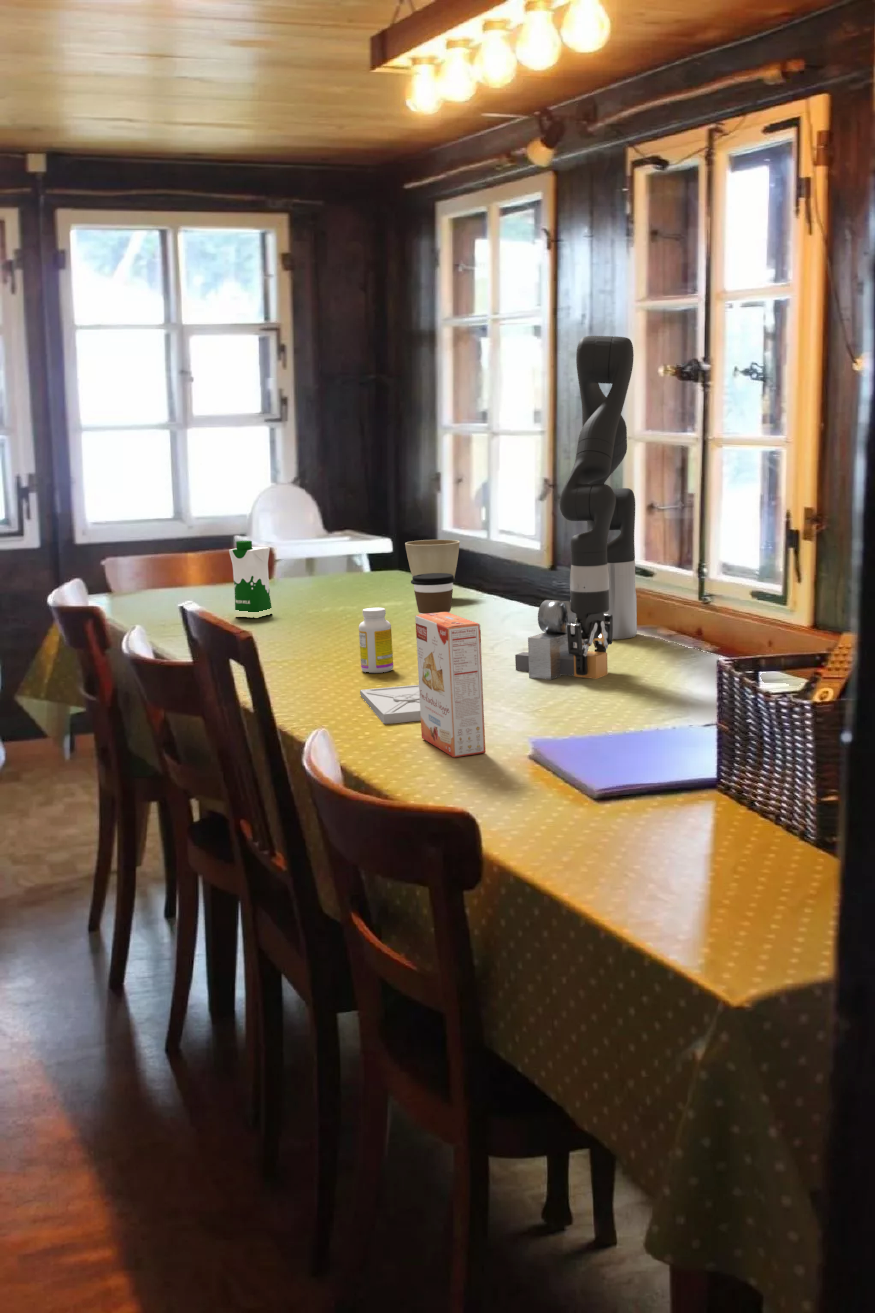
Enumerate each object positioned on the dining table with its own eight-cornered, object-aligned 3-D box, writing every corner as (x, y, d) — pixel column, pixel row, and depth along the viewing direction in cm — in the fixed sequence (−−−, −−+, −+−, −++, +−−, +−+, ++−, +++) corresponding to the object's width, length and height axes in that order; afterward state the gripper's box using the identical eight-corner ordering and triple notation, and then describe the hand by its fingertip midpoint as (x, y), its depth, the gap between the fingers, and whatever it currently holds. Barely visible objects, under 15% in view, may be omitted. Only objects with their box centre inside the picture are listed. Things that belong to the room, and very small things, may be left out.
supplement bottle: (398, 667, 288) (395, 606, 286) (386, 674, 282) (383, 611, 280) (368, 667, 290) (365, 606, 288) (356, 673, 284) (352, 611, 282)
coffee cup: (405, 627, 338) (403, 578, 336) (423, 620, 348) (420, 572, 346) (447, 628, 334) (445, 578, 332) (463, 621, 344) (461, 572, 341)
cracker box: (419, 739, 228) (413, 613, 224) (453, 735, 230) (448, 610, 226) (451, 759, 215) (445, 625, 211) (486, 754, 217) (482, 622, 213)
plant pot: (462, 602, 373) (459, 543, 370) (406, 605, 374) (404, 546, 371) (461, 594, 388) (459, 537, 385) (408, 596, 388) (406, 540, 385)
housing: (565, 664, 284) (563, 595, 281) (586, 666, 281) (585, 596, 278) (529, 677, 273) (527, 605, 270) (550, 679, 270) (549, 606, 267)
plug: (514, 670, 281) (513, 649, 280) (525, 666, 284) (525, 645, 283) (596, 678, 269) (596, 656, 269) (607, 674, 273) (607, 652, 272)
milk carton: (230, 618, 364) (224, 541, 360) (252, 612, 371) (247, 538, 368) (256, 619, 359) (250, 542, 355) (278, 614, 367) (273, 538, 363)
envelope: (431, 693, 266) (360, 700, 263) (430, 682, 265) (359, 688, 262) (461, 718, 242) (384, 725, 239) (460, 705, 242) (383, 712, 239)
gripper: (588, 593, 261) (589, 679, 264) (624, 583, 273) (625, 666, 276) (553, 591, 266) (555, 676, 269) (591, 581, 277) (592, 663, 280)
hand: (591, 671), depth 272 cm, fingers open, 7 cm apart
